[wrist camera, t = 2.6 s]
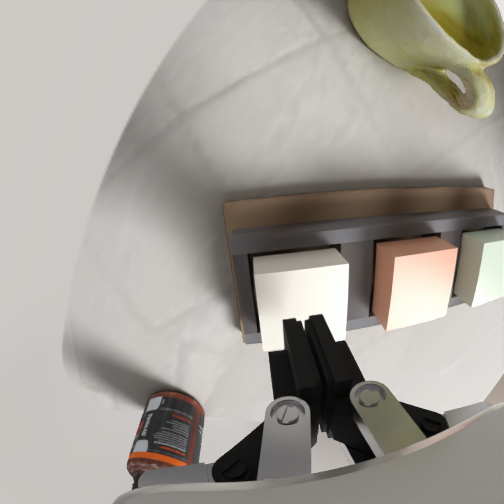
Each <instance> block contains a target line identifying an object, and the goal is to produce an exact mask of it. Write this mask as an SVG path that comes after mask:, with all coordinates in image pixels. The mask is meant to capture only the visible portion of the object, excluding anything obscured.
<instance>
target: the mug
mask: <svg viewBox="0 0 504 504" xmlns="http://www.w3.org/2000/svg"><path fill="white" fill-rule="evenodd" d="M347 9H348V13H349V17H350V19H351V21H352V24H353V26H354V28H355V29H356V31H357V32H358V34H359V35H360V37H361V38H362V40H363V41H364V42H365V43H366V44H367V45H368V47H369V48H370V49H372V50H373V51H374V52H375V53H377V54H378V55H379V56H380V57H382V58H383V59H385V60H386V61H388V62H389V63H391V64H393V65H395V66H396V67H399V68H401V69H403V70H405V71H407V72H408V73H410V74H411V75H412V76H414V77H417V78H419V79H421V80H423V81H425V82H426V83H428V84H429V85H430V86H431V87H432V88H433V89H434V90H435V91H436V92H437V93H438V94H439V95H440V96H441V97H442V98H443V99H445V100H446V101H447V102H448V103H449V104H450V106H452V107H453V108H454V109H455V110H457V111H458V112H459V113H461V114H464V115H467V116H470V117H472V118H477V119H485V118H487V117H489V116H490V115H491V114H492V112H493V110H494V106H495V90H494V87H493V84H492V82H491V80H490V78H489V76H488V75H487V74H486V72H485V70H484V69H485V68H486V67H488V66H491V65H494V64H496V63H498V62H499V61H500V60H501V58H502V57H503V55H504V24H503V20H502V17H501V13H500V11H499V8H498V6H497V4H496V2H495V1H494V0H347ZM447 69H448V70H450V71H452V72H453V73H455V74H456V75H457V76H458V77H459V78H460V79H461V81H462V83H463V84H464V86H465V88H466V94H463V93H462V91H461V90H460V89H459V88H458V86H457V85H456V84H455V83H453V82H452V81H451V80H450V79H449V78H448V77H447V75H446V73H445V71H446V70H447Z"/></svg>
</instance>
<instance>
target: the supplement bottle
mask: <svg viewBox="0 0 504 504" xmlns="http://www.w3.org/2000/svg"><path fill="white" fill-rule="evenodd" d="M204 417H205V414H204V410H203V408H202V407H201V405H200V404H199V403H198V402H197V401H195V400H194V399H192V398H191V397H189V396H186V395H184V394H181V393H178V392H172V391H161V392H157V393H155V394H153V395H152V396H150V398H149V399H148V402H147V403H146V406H145V409H144V413H143V415H142V418H141V421H140V424H139V428H138V430H137V433H136V436H135V440H134V442H133V446H132V449H131V452H130V455H129V459H128V462H127V470H128V471H129V473H130V475H131V476H132V477H133V479H134V483H133V487H132V490H134V489H137V488H138V481H139V478H140V476H141V475H142V474H143V473H144V472H146V471H147V470H151V469H158V468H168V467H177V466H184V465H191V464H197V463H199V456H200V448H201V442H202V441H201V440H202V434H203V427H204Z"/></svg>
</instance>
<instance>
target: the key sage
mask: <svg viewBox="0 0 504 504" xmlns="http://www.w3.org/2000/svg"><path fill="white" fill-rule="evenodd" d="M453 293H454V294H456V295H457V296H458V297H459V298H460V299H462V300H463V301H464V302H465V303H466V304H468V305H469V306H470V307H471V308H472V307H475V306H478V305H481V304H484V303H487V302H490V301H492V300H495V299H498V298H500V297H503V296H504V231H503V230H501V229H499V228H497V229H489V230H481V231H473V232H465V233H462V241H461V249H460V257H459V264H458V270H457V276H456V282H455V287H454V292H453Z"/></svg>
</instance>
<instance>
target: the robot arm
mask: <svg viewBox="0 0 504 504" xmlns="http://www.w3.org/2000/svg"><path fill="white" fill-rule="evenodd" d="M282 322H283V336H284V350H281V351H273V352H268V354H269V363H270V372H271V380H272V388H273V396H274V401H273V402H271V403H270V404H269V406H268V407H267V409H266V412H265V420H264V422H262V423H261V424H260V425H259V426H258V427H257V428H256V429H254V430H253V431H252V432H251V433H250V434H249V435H247V436H246V437H245V438H244V439H243V440H242V441H240V442H239V443H238V444H237V445H235V446H234V447H233V448H232V449H231V450H229V451H228V452H227V453H225V454H224V455H223V456H221V457H220V458H219V459H218V460H217V461H216V462H215V463H211V464H204V463H197V464H191V465H184V466H177V467H168V468H158V469H151V470H147V471H146V472H144V473H143V474H142V475H141V476H140V478H139V481H138V488H137V489H134V490H131V491H128V492H126V493H124V494H122V495H120V496H119V497H118V498H117V499H116V500H115V501H114V503H113V504H504V402H501V403H499V404H496V405H494V406H493V405H492V404H490V403H488V402H480V403H477V404H473V405H469V406H466V407H462V408H458V409H454V410H450V411H445V412H444V414H442V415H441V414H439V413H436V412H433V411H430V410H426V409H422V408H419V407H416V406H412V405H409V404H406V403H403V402H399V401H398V400H397V399H396V398H395V397H394V395H393V394H392V393H391V392H390V390H389V389H388V388H387V387H386V386H385V385H384V384H382V383H380V382H377V381H365V379H364V377H363V375H362V373H361V371H360V369H359V367H358V365H357V363H356V361H355V359H354V357H353V355H352V353H351V351H350V349H349V347H348V345H347V343H346V342H345V341H344V340H343V341H337V342H335V340H334V337H333V335H332V333H331V331H330V329H329V327H328V325H327V323H326V320H325V318H324V316H323V314H317V315H311V316H309V319H307V320H305V321H304V327H303V324H302V322H301V320H300V321H297V320H296V318H290V319H283V321H282ZM304 328H305V330H304ZM319 425H320V429H321V432H326V433H327V436H328V438H332V437H333V439H334V440H336V441H339V442H340V445H341V448H342V450H343V452H344V454H345V456H346V458H347V460H348V462H349V464H350V466H346V467H342V468H337V469H333V470H329V471H324V472H319V473H313V474H311V448H312V447H313V446H314V445H315V444H316V442H317V434H318V429H319Z"/></svg>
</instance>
